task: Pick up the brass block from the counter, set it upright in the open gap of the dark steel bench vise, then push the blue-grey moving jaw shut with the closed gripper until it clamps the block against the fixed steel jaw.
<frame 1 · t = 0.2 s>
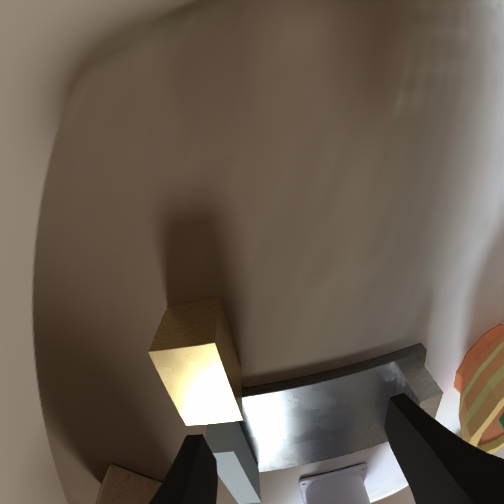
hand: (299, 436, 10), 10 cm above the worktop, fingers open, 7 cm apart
moving jaw: (236, 463, 20), point 3 cm above the worktop, slide at 0.0 cm
vise: (320, 420, 23), on the worktop
brass block: (206, 339, 20), on the worktop
wooden block: (141, 487, 28), on the worktop
potted cactus: (484, 359, 23), on the worktop
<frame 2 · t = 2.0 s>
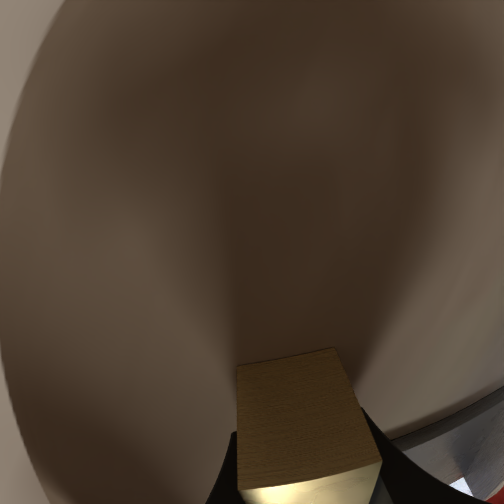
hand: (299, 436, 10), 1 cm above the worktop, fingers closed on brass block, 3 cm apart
pomegranate: (481, 483, 21), on the worktop
vise: (405, 472, 14), on the worktop
brass block: (294, 410, 11), on the worktop, touching gripper
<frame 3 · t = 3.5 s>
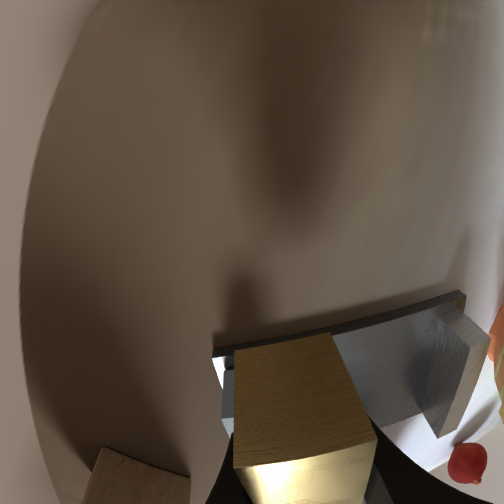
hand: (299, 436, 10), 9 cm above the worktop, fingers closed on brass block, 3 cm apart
pomegranate: (456, 443, 27), on the worktop
moving jaw: (255, 438, 17), point 3 cm above the worktop, slide at 0.0 cm
vise: (351, 385, 20), on the worktop
brass block: (291, 397, 11), point 7 cm above the worktop, touching gripper
wooden block: (137, 476, 25), on the worktop
when the fingers open (3 cm above the worktop, at t = 5.4 s): brass block stays where it is, resting on vise.
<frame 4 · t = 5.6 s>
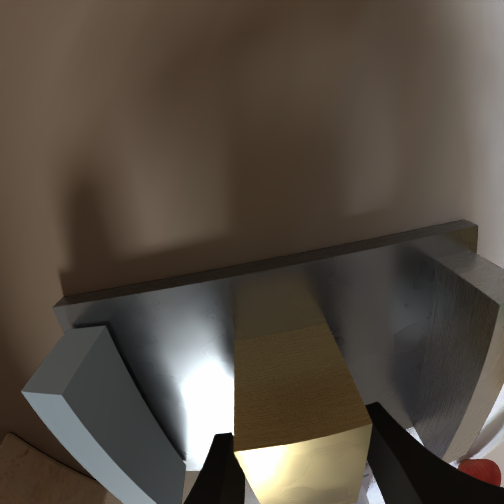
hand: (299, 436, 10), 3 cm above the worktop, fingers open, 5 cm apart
pomegranate: (462, 460, 19), on the worktop
moving jaw: (122, 444, 10), point 3 cm above the worktop, slide at 0.0 cm
vise: (288, 379, 13), on the worktop
brass block: (290, 387, 12), point 1 cm above the worktop, touching vise
wooden block: (56, 474, 18), on the worktop
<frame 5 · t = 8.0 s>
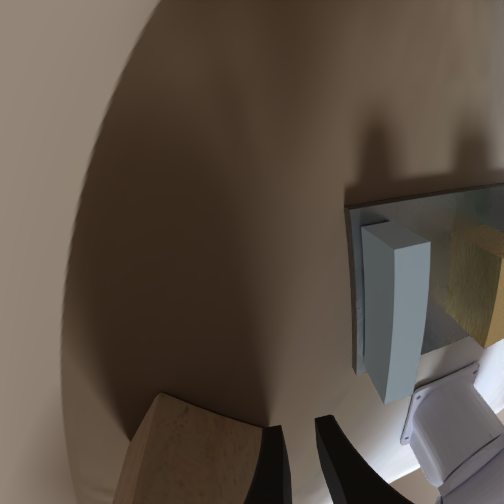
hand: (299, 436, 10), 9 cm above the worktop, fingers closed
moving jaw: (392, 318, 15), point 3 cm above the worktop, slide at 0.0 cm
vise: (458, 269, 18), on the worktop
brass block: (466, 269, 17), point 1 cm above the worktop, touching vise
wooden block: (194, 438, 23), on the worktop
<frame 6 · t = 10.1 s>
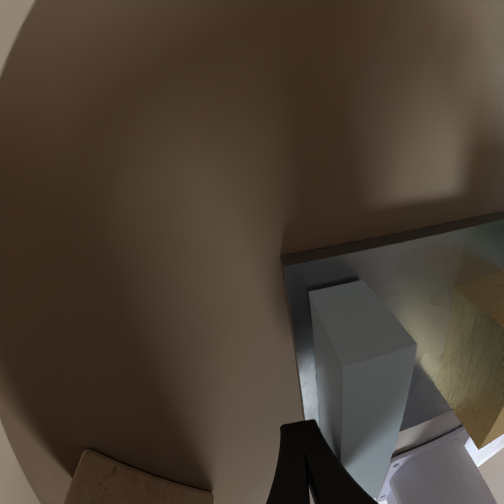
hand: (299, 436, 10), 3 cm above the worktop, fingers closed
moving jaw: (353, 419, 10), point 3 cm above the worktop, slide at 0.2 cm, touching gripper
vise: (459, 328, 13), on the worktop
brass block: (470, 331, 12), point 1 cm above the worktop, touching vise
wooden block: (136, 489, 17), on the worktop
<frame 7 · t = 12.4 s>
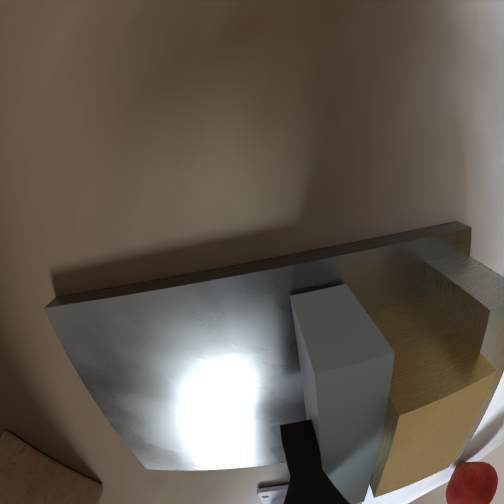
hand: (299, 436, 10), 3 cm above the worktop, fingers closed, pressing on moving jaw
pomegranate: (458, 462, 19), on the worktop
moving jaw: (337, 423, 10), point 3 cm above the worktop, slide at 9.5 cm, touching brass block, gripper
vise: (277, 381, 13), on the worktop
brass block: (383, 364, 12), point 1 cm above the worktop, touching moving jaw, vise
wooden block: (53, 472, 18), on the worktop
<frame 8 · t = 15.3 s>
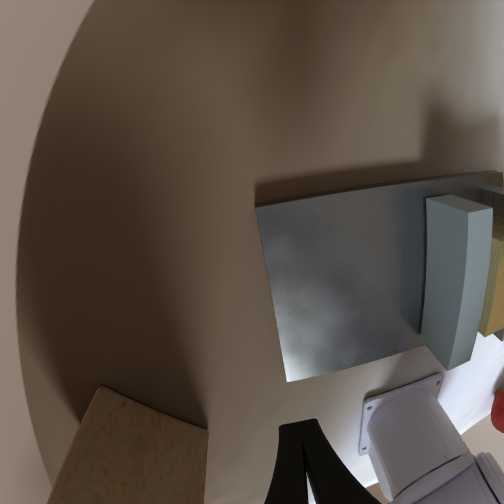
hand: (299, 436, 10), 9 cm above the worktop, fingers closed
pomegranate: (496, 391, 25), on the worktop
moving jaw: (454, 284, 15), point 3 cm above the worktop, slide at 9.5 cm, touching brass block
vise: (404, 271, 18), on the worktop
brass block: (465, 256, 17), point 1 cm above the worktop, touching moving jaw, vise
wooden block: (140, 433, 23), on the worktop
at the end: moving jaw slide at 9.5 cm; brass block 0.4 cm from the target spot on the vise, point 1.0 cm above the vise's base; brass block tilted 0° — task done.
